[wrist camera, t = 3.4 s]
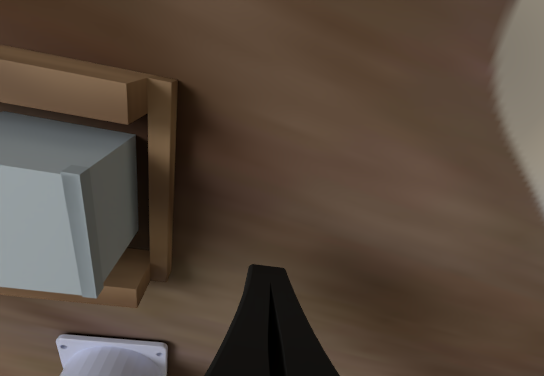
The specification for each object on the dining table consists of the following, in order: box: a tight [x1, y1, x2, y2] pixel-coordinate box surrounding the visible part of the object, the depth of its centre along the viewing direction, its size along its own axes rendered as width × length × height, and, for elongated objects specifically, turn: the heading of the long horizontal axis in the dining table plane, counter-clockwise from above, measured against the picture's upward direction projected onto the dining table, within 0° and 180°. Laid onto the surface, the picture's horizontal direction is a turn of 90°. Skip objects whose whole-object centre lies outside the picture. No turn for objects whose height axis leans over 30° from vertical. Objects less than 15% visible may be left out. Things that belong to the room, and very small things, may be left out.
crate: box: [0, 111, 139, 298], centre depth 12 cm, size 6×6×5 cm
